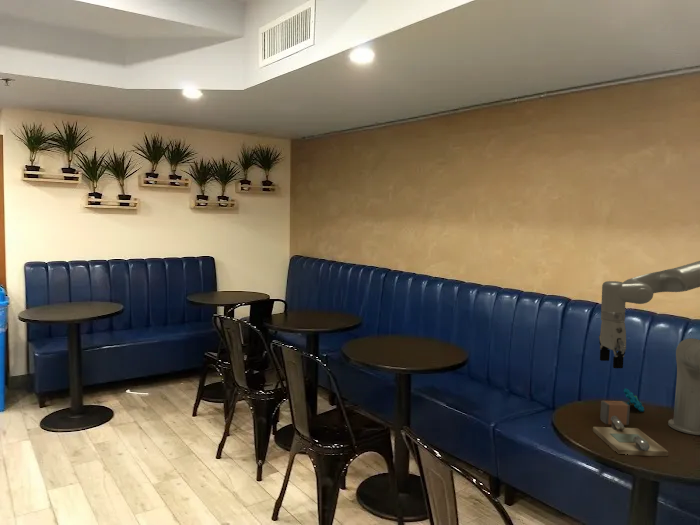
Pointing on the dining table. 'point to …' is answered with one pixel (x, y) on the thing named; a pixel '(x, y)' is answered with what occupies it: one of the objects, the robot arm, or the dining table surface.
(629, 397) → the gear
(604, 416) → the orange and grey block
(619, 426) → the shaft angled
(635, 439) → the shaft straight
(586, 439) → the dining table surface
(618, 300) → the robot arm
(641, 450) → the base
